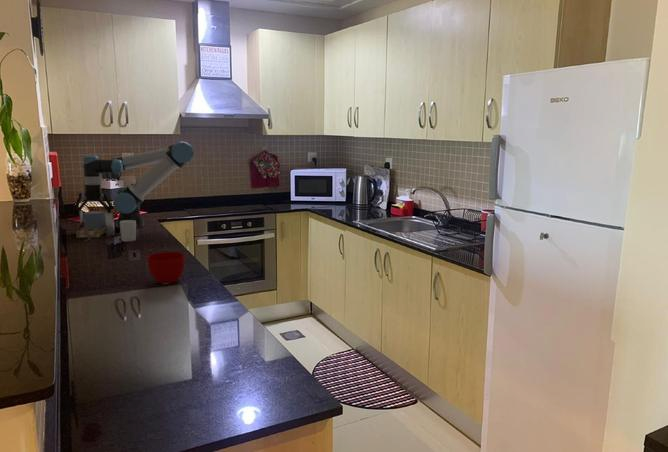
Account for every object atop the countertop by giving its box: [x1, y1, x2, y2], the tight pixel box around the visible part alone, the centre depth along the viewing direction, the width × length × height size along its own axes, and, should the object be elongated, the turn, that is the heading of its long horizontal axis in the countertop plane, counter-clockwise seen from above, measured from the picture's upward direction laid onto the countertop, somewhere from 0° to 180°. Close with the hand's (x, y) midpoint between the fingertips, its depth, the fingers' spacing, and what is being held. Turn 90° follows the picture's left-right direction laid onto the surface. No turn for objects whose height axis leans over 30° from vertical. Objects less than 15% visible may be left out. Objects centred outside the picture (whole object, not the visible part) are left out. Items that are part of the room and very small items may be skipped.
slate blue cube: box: [83, 210, 106, 228], centre depth 275 cm, size 9×9×8 cm
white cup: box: [119, 220, 137, 243], centre depth 255 cm, size 8×8×10 cm
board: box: [75, 226, 106, 239], centre depth 271 cm, size 11×20×3 cm, turn 10°
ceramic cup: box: [147, 251, 185, 284], centre depth 184 cm, size 13×17×10 cm
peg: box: [105, 211, 116, 237], centre depth 268 cm, size 4×4×12 cm
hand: (94, 222), depth 275 cm, fingers open, 13 cm apart
